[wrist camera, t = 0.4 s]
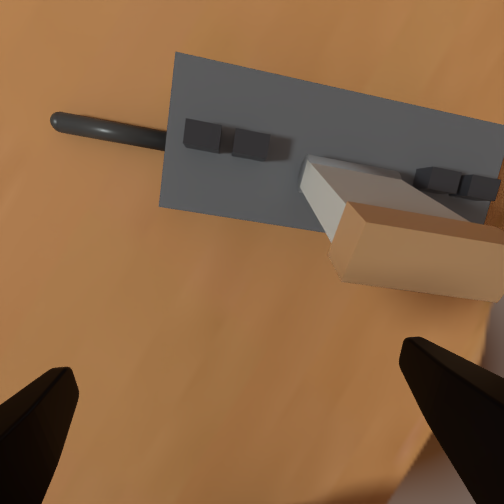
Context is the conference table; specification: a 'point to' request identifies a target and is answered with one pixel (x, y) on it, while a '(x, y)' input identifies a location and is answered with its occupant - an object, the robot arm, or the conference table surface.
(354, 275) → the lever
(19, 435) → the robot arm
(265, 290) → the conference table surface
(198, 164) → the breaker box
